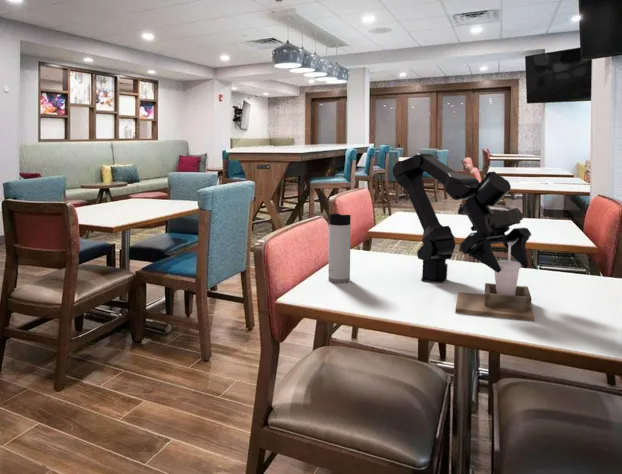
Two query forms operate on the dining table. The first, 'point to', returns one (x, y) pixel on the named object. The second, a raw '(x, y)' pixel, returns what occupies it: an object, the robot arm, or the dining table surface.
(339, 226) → the travel mug
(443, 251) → the robot arm
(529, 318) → the holder
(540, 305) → the dining table surface
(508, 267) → the smoothie
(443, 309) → the dining table surface
